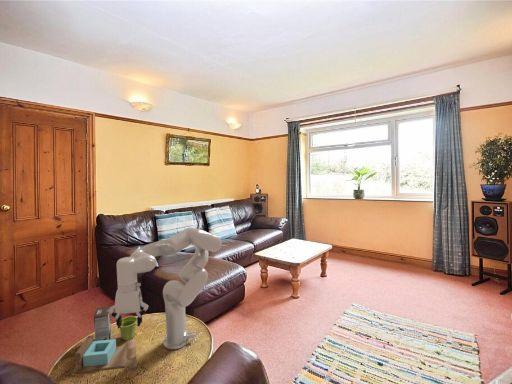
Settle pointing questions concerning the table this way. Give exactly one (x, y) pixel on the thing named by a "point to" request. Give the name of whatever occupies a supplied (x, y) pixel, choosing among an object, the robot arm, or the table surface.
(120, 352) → the backstop board
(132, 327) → the plant pot
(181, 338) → the robot arm
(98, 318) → the coffee box
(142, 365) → the table surface
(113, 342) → the hole block
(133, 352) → the dowel
